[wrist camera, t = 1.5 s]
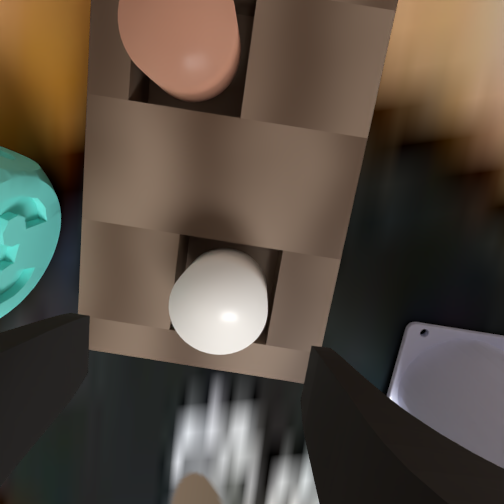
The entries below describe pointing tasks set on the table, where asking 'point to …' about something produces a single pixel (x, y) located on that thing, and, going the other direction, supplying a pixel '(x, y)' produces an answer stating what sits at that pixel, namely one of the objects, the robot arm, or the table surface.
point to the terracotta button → (183, 44)
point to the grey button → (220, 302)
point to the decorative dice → (24, 226)
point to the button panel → (228, 177)
